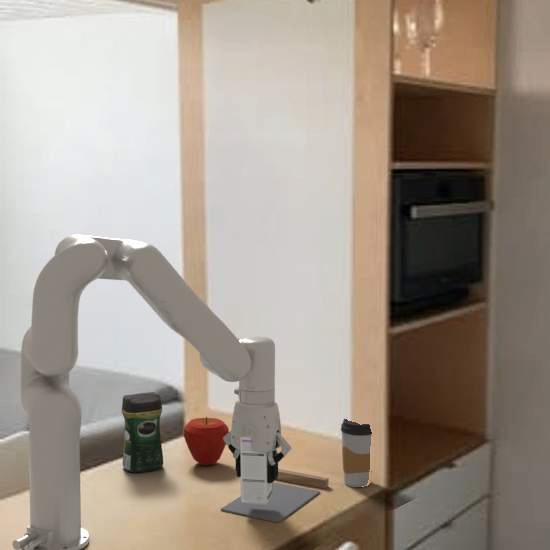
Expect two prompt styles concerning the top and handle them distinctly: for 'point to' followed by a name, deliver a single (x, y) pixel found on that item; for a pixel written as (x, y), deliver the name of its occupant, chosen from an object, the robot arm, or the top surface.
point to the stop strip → (303, 478)
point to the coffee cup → (356, 453)
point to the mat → (274, 503)
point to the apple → (205, 439)
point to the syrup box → (254, 475)
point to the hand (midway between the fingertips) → (256, 477)
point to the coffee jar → (142, 432)
